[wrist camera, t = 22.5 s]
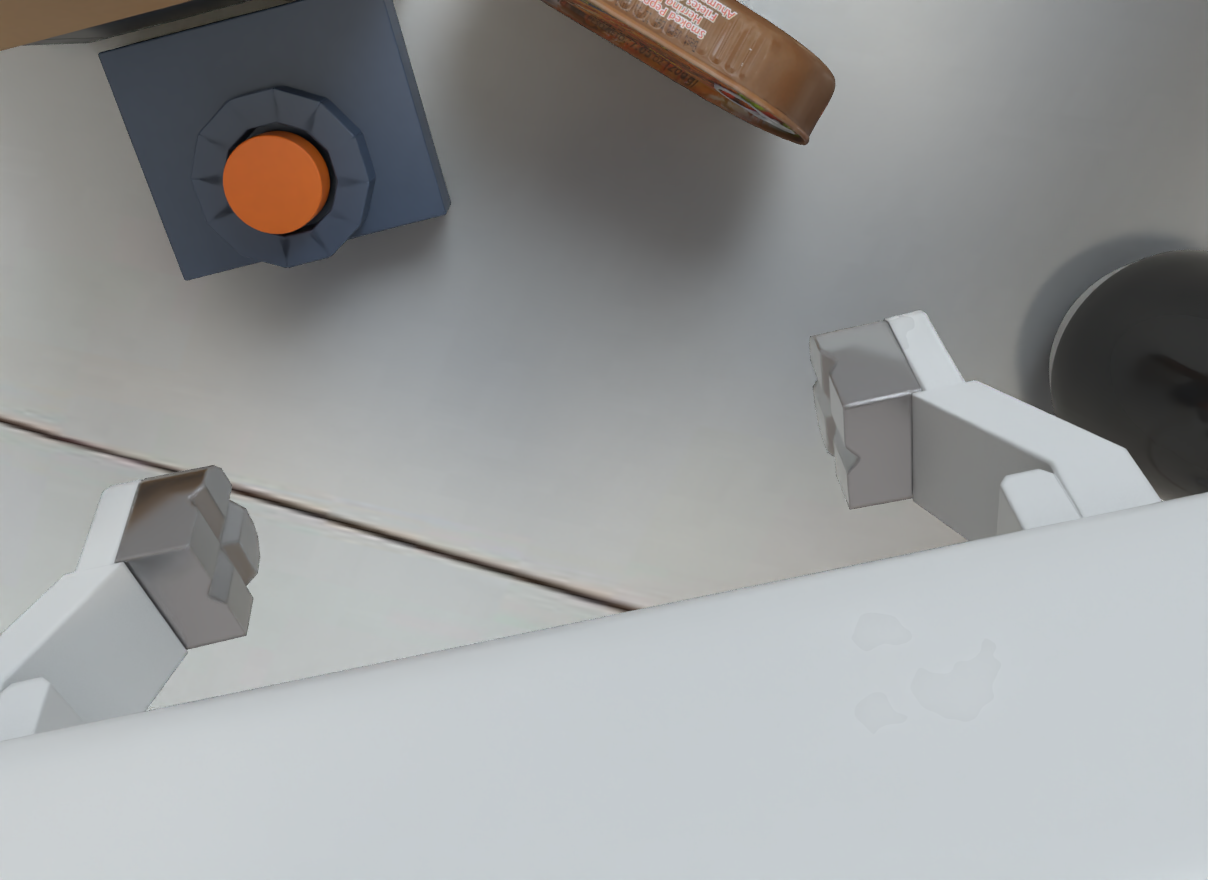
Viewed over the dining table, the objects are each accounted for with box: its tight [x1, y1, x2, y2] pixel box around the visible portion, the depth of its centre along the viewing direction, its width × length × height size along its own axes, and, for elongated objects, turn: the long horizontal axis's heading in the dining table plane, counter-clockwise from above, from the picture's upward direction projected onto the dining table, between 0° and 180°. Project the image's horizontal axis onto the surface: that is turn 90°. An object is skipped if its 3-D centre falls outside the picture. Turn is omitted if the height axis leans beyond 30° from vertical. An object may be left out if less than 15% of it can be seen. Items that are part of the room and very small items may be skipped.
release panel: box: [98, 0, 451, 280], centre depth 44 cm, size 9×11×4 cm
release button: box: [223, 131, 330, 234], centre depth 42 cm, size 4×4×2 cm
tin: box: [541, 0, 835, 145], centre depth 41 cm, size 15×3×8 cm, turn 60°
